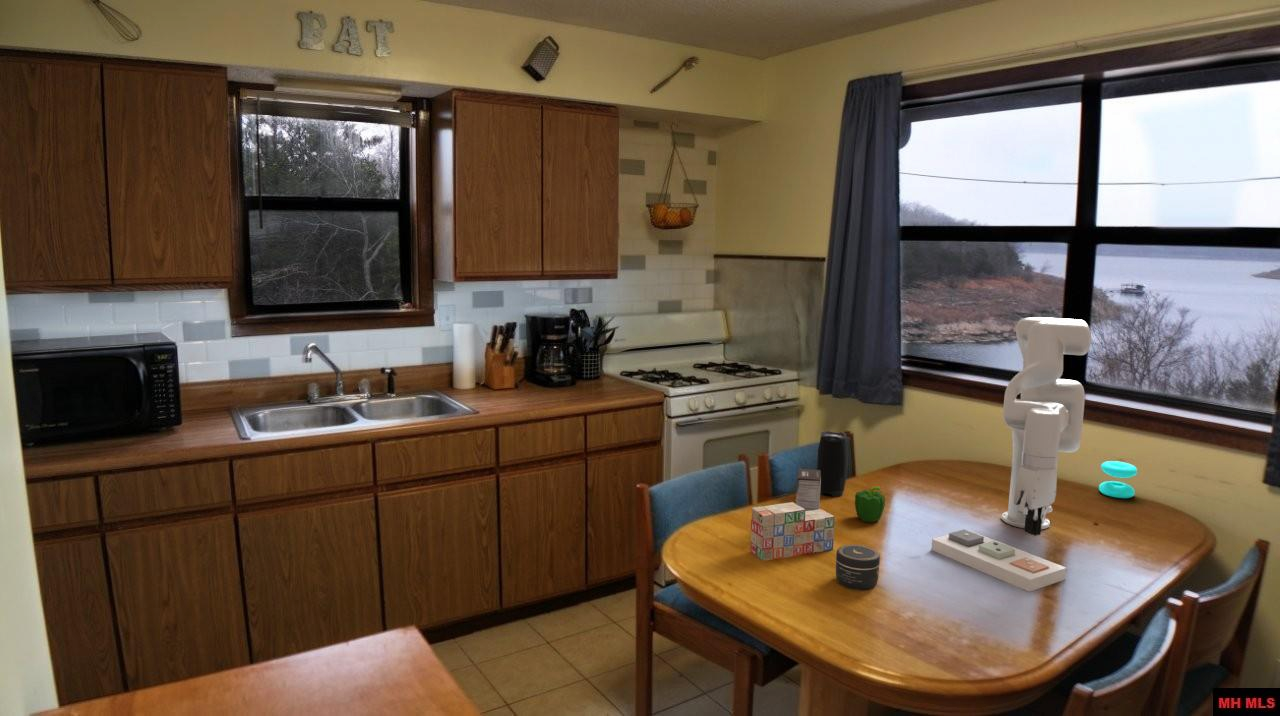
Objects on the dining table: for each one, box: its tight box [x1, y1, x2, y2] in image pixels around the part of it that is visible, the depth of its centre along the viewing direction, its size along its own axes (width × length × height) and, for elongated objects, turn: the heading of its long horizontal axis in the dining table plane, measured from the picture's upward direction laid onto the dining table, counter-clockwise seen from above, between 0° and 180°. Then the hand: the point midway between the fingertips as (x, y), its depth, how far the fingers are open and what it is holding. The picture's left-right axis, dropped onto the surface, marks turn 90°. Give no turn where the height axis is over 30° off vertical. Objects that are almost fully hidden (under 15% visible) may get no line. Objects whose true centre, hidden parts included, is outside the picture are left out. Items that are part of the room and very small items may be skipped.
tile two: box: [978, 540, 1015, 560], centre depth 199 cm, size 6×6×3 cm
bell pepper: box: [854, 485, 886, 523], centre depth 229 cm, size 8×8×10 cm
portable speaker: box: [816, 430, 849, 498], centre depth 251 cm, size 9×9×20 cm
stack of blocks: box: [750, 501, 835, 562], centre depth 205 cm, size 21×6×12 cm, turn 111°
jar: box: [835, 544, 881, 591], centre depth 187 cm, size 10×10×8 cm
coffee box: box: [795, 468, 821, 511], centre depth 221 cm, size 9×6×16 cm
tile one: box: [948, 528, 984, 547], centre depth 207 cm, size 6×6×3 cm
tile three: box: [1010, 558, 1049, 574], centre depth 192 cm, size 6×6×3 cm
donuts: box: [1098, 460, 1138, 499], centre depth 255 cm, size 10×10×10 cm
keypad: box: [930, 529, 1067, 592], centre depth 199 cm, size 14×28×3 cm, turn 30°
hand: (1032, 533), depth 191 cm, fingers closed
